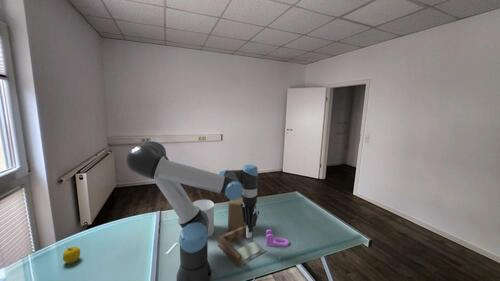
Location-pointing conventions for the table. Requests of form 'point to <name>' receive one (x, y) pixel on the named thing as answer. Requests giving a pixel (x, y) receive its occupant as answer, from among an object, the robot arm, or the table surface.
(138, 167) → the robot arm
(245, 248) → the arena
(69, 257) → the apple
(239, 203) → the wooden block
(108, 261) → the table surface
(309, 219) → the table surface
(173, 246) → the table surface
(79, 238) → the table surface
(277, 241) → the bracket
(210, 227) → the container
